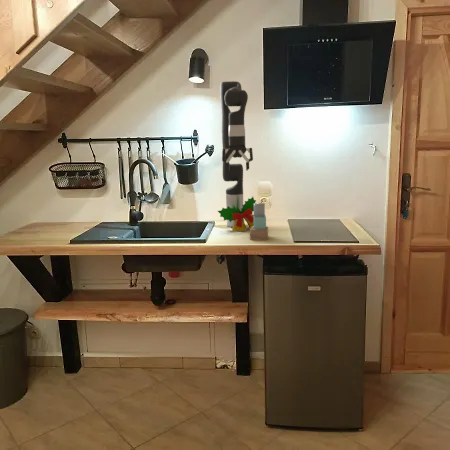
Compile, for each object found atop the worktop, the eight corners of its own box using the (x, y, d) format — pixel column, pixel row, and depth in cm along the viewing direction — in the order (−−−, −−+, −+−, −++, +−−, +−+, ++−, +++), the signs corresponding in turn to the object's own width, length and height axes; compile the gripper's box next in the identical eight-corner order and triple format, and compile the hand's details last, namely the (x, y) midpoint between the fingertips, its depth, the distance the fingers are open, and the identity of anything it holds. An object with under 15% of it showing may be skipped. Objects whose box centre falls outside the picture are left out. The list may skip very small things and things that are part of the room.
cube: (253, 226, 212) (253, 215, 211) (265, 226, 212) (265, 215, 211) (254, 229, 206) (254, 217, 205) (266, 228, 206) (266, 217, 205)
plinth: (251, 236, 214) (250, 226, 213) (267, 236, 213) (267, 226, 212) (250, 240, 206) (249, 229, 205) (267, 240, 205) (267, 229, 204)
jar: (254, 215, 211) (253, 202, 210) (265, 215, 210) (265, 202, 209) (253, 217, 206) (252, 204, 205) (264, 217, 205) (264, 204, 204)
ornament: (228, 240, 228) (219, 216, 221) (225, 232, 235) (216, 209, 228) (266, 226, 229) (258, 201, 221) (261, 219, 236) (254, 194, 229)
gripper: (252, 134, 208) (253, 169, 211) (222, 135, 209) (223, 170, 212) (252, 134, 200) (252, 171, 204) (220, 135, 202) (221, 171, 205)
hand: (237, 170), depth 208 cm, fingers open, 8 cm apart
